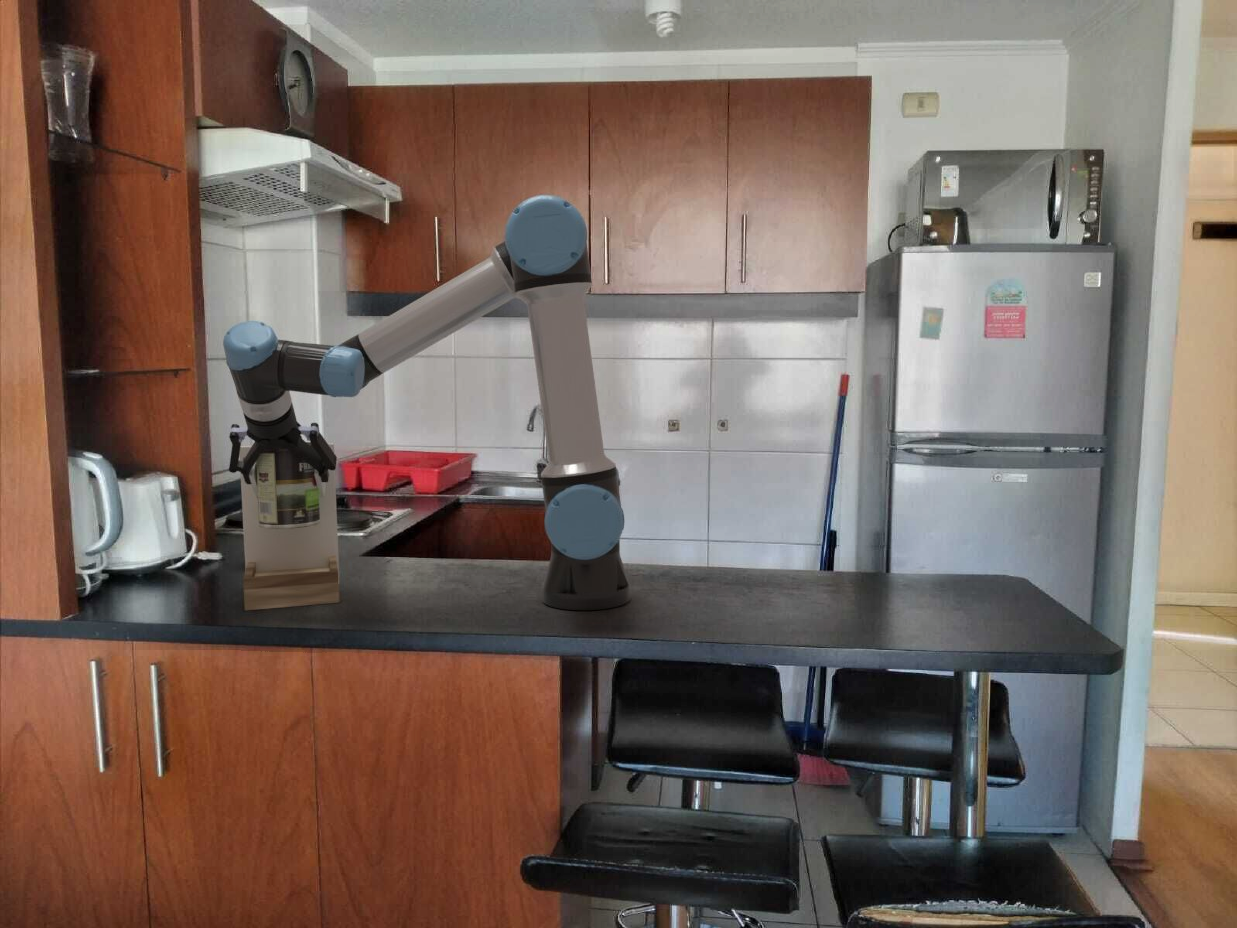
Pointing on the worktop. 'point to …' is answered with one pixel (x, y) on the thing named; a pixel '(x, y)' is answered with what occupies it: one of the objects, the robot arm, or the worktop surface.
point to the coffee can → (286, 490)
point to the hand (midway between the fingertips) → (291, 491)
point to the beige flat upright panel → (290, 533)
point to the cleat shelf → (290, 586)
